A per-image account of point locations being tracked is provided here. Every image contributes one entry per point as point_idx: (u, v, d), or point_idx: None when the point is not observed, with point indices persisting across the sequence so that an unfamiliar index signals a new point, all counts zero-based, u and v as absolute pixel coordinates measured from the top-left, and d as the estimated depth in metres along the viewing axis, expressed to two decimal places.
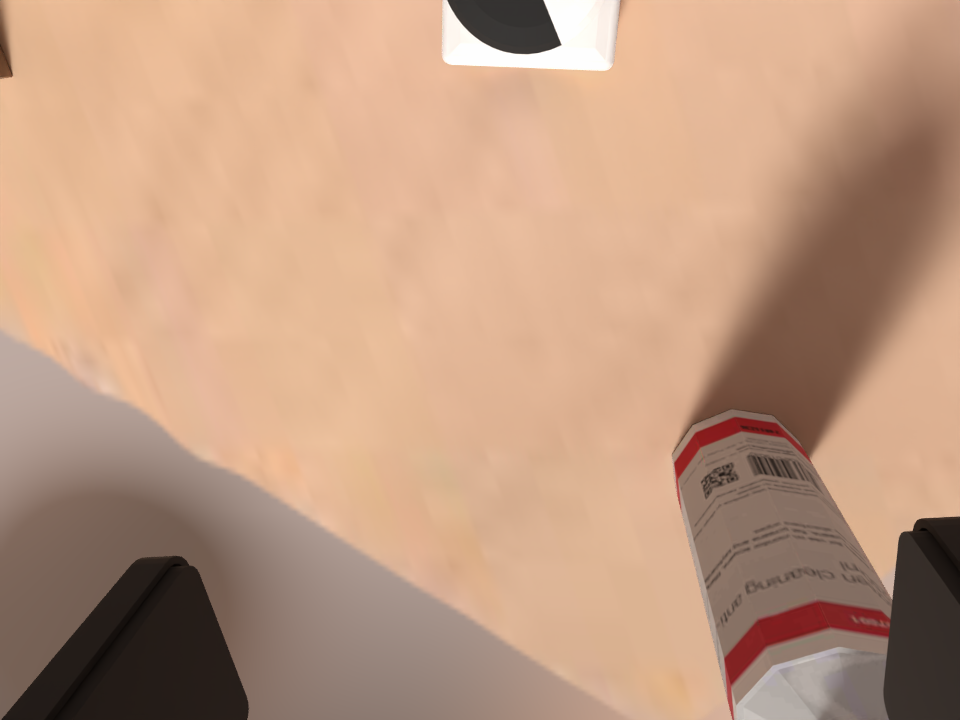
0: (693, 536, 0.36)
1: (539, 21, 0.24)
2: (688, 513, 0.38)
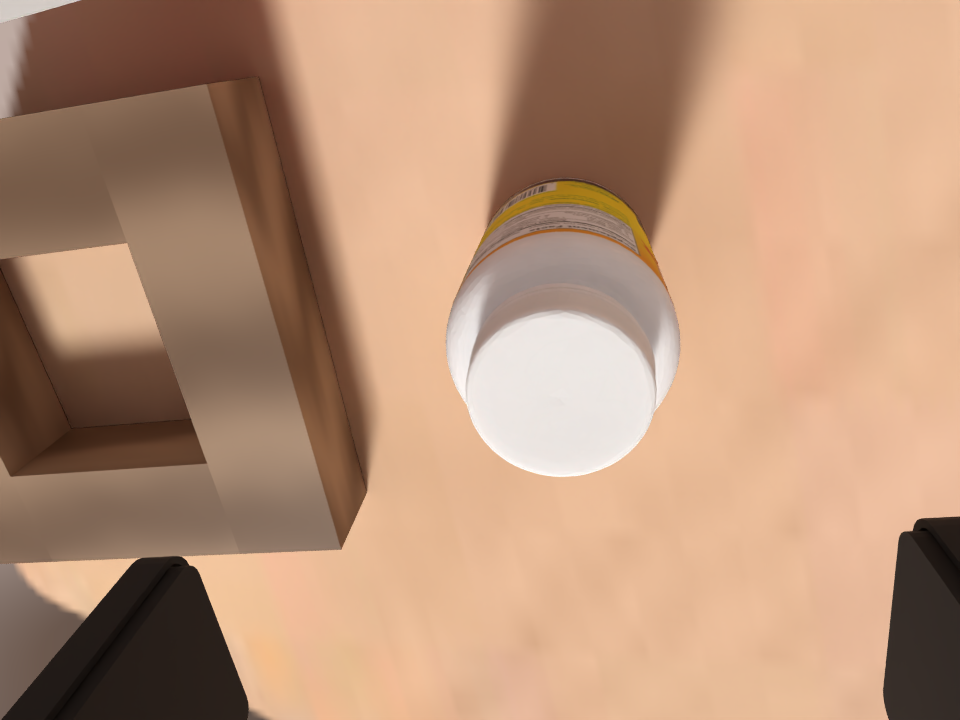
0: None
1: None
2: None
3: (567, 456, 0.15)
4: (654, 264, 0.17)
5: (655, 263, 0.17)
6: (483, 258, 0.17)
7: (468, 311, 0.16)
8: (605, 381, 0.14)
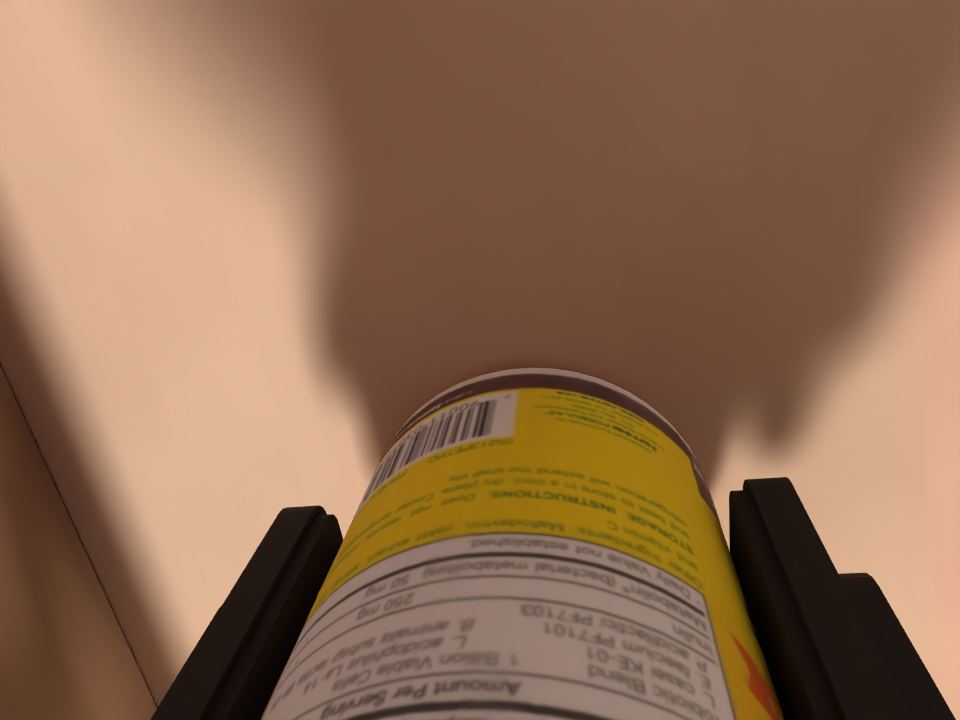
0: None
1: None
2: None
3: None
4: None
5: None
6: None
7: None
8: None
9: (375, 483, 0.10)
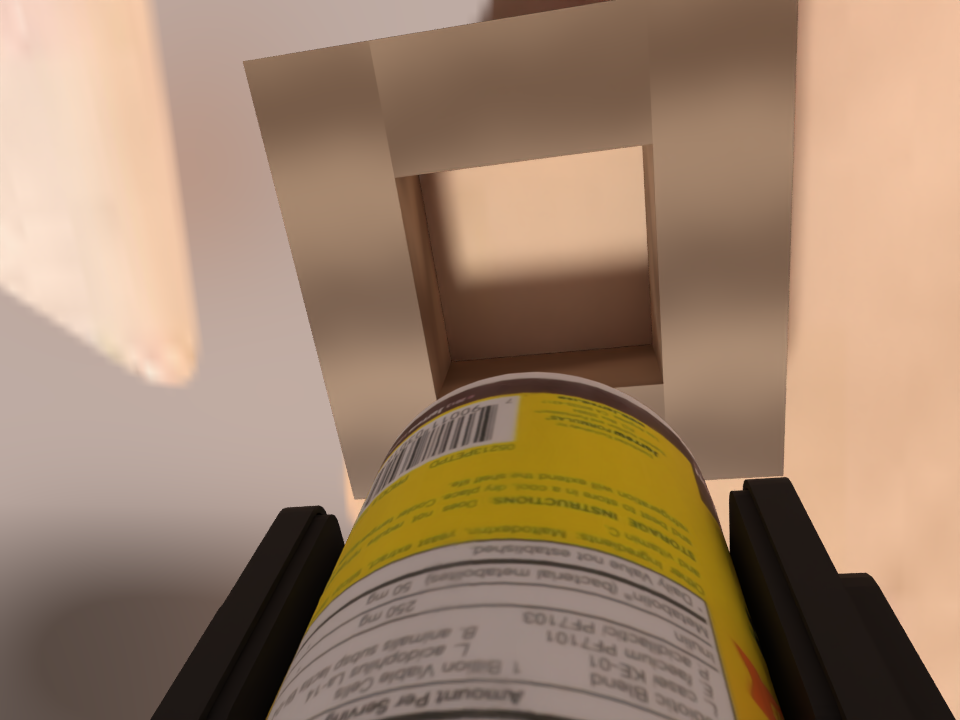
0: None
1: None
2: None
3: None
4: None
5: None
6: None
7: None
8: None
9: (376, 488, 0.10)
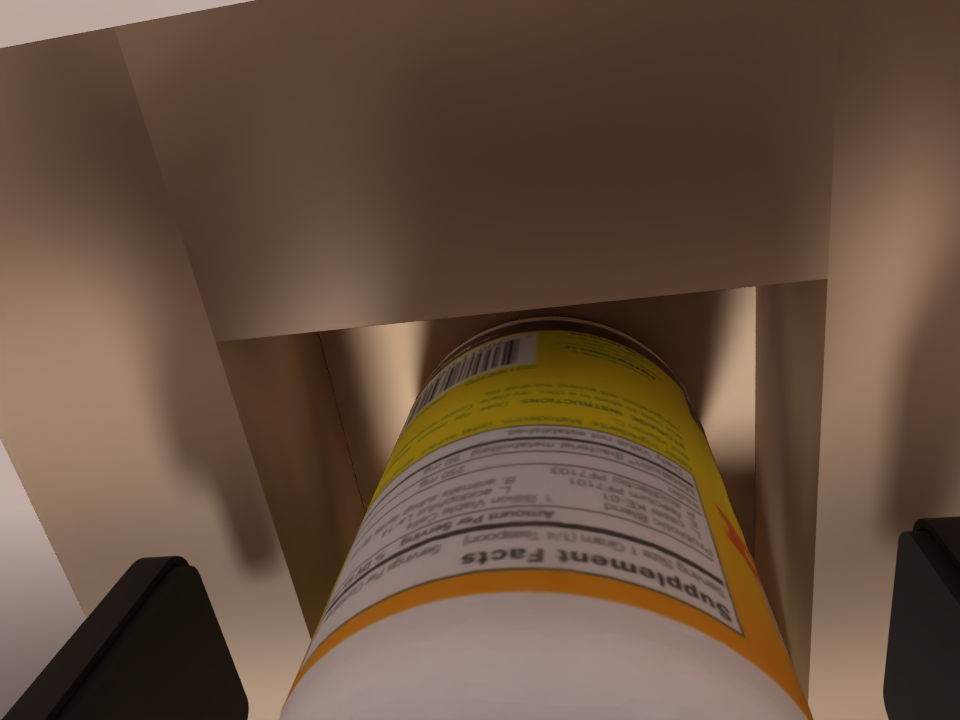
0: None
1: None
2: None
3: None
4: (761, 604, 0.07)
5: (757, 584, 0.08)
6: (348, 620, 0.07)
7: None
8: None
9: (417, 409, 0.11)
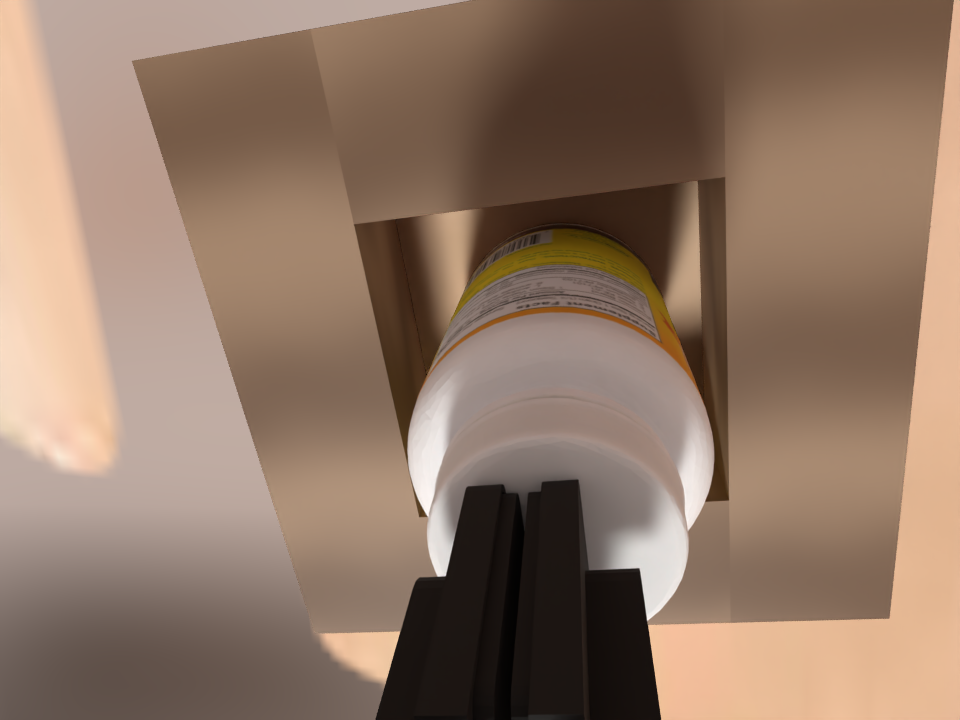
0: None
1: None
2: None
3: None
4: (678, 348, 0.13)
5: (678, 344, 0.14)
6: (456, 342, 0.13)
7: (434, 415, 0.12)
8: (618, 531, 0.10)
9: (473, 279, 0.17)
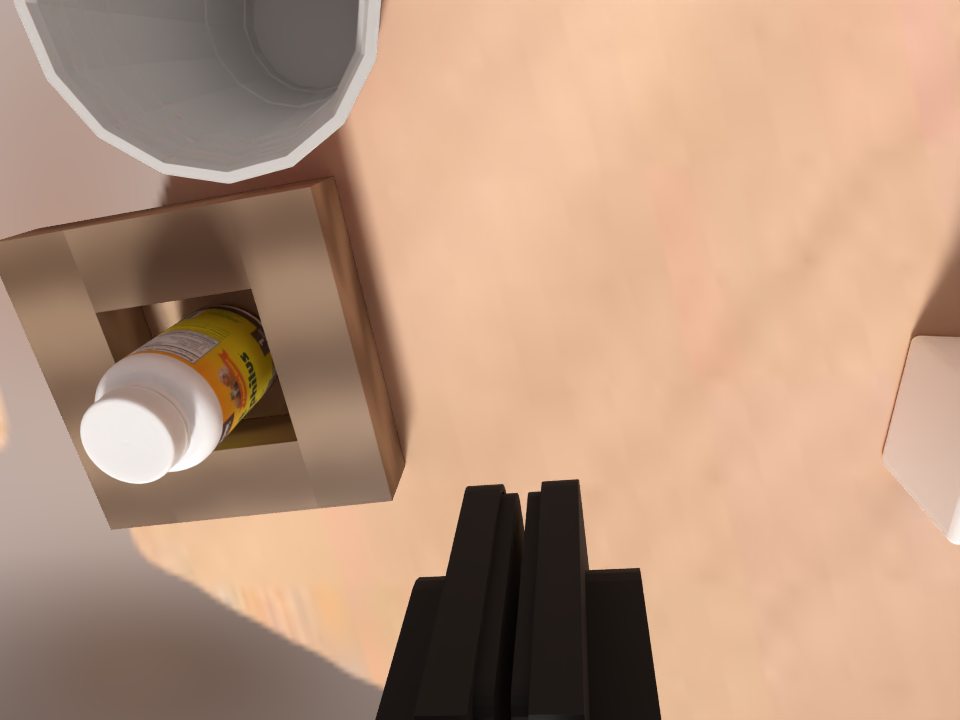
0: None
1: None
2: None
3: (138, 472, 0.29)
4: (215, 365, 0.31)
5: (221, 364, 0.31)
6: None
7: (98, 396, 0.30)
8: (145, 433, 0.28)
9: None
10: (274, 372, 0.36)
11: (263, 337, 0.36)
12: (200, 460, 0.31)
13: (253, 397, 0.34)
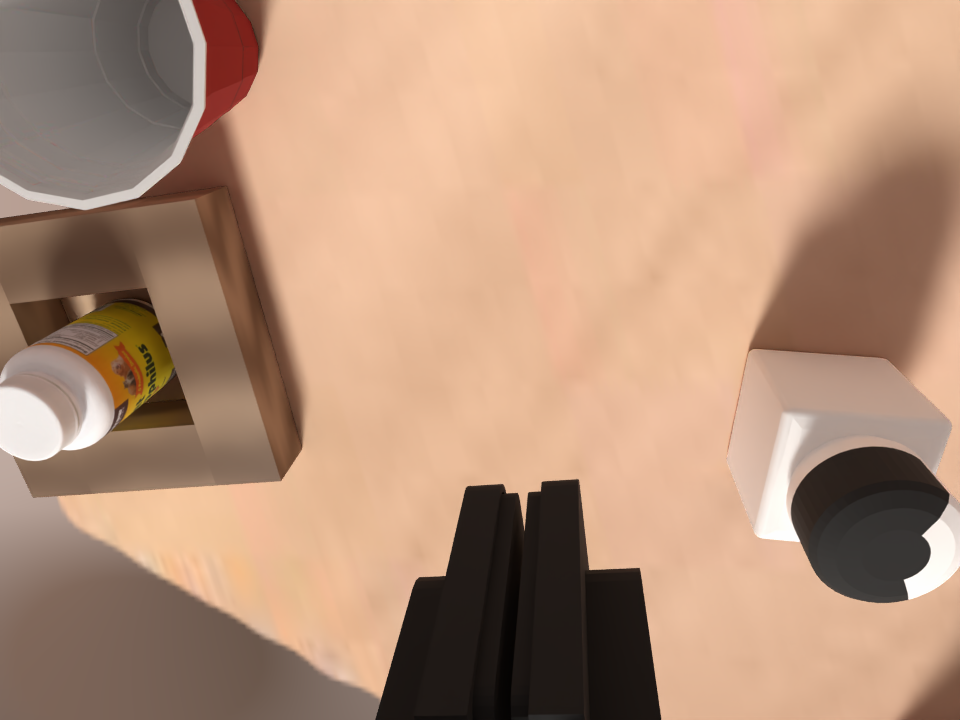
0: None
1: (897, 594, 0.28)
2: None
3: (33, 451, 0.32)
4: (110, 357, 0.35)
5: (116, 355, 0.35)
6: None
7: (1, 382, 0.33)
8: (36, 417, 0.32)
9: None
10: None
11: None
12: (95, 441, 0.35)
13: (152, 384, 0.38)
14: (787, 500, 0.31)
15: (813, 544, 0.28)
